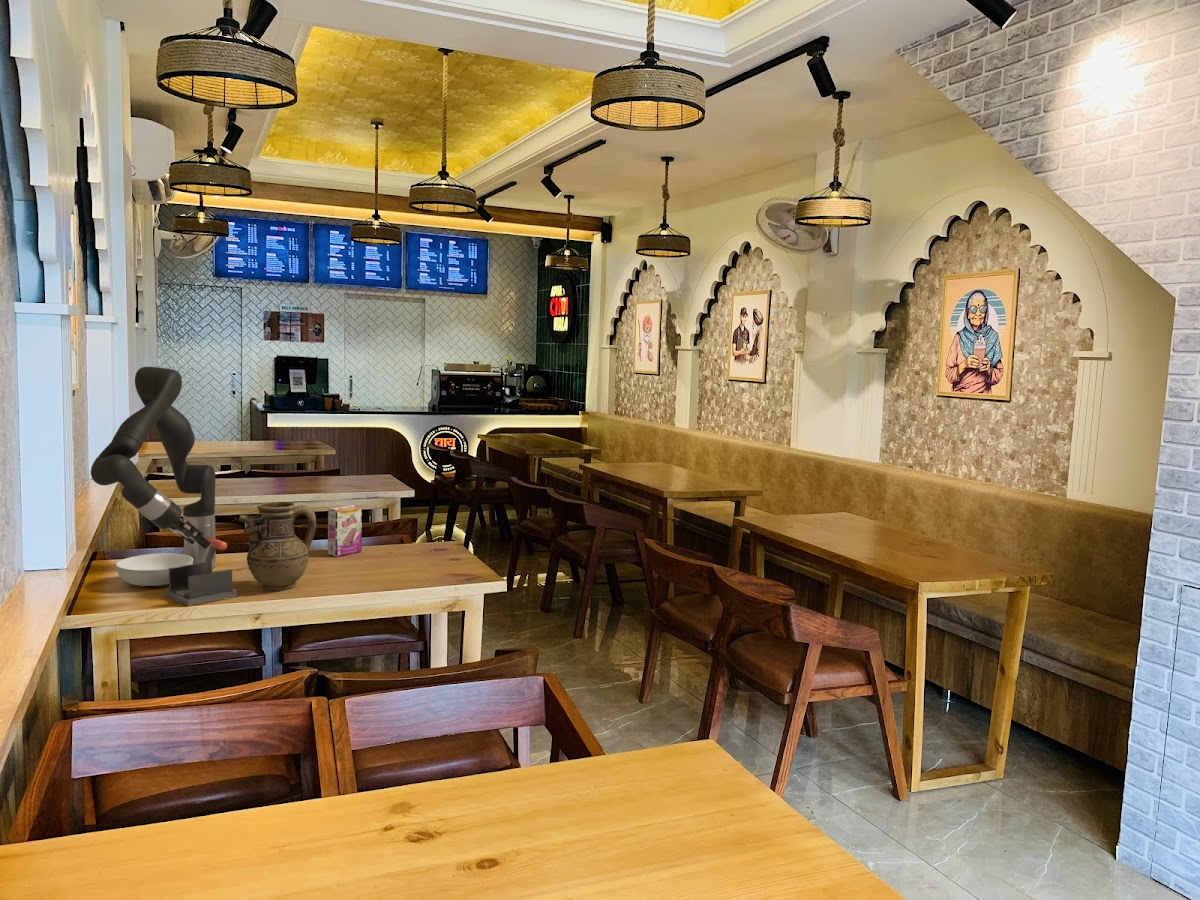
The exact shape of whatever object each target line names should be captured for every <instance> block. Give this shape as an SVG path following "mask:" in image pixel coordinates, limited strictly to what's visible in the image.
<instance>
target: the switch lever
mask: <svg viewBox="0 0 1200 900" xmlns="http://www.w3.org/2000/svg"><path fill="white" fill-rule="evenodd" d="M205 538H206V539H207V540H208V541H209V542H210V543H211V544H210V549H209V551H208V554H207V557H206V559H205V562H204V565H203V568H202V570H201V573H200V574H205V573H208V571H209V568H210V565H211V562H212V560H213V557H214V554H215V552H216V553H217V550H220V551H225V550H226V549H227V548H228V543H227V542H225V541H223V540H220V539H216V538H215V539H214V538H211V537H208V536H207V537H205Z"/></svg>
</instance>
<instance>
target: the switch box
mask: <svg viewBox="0 0 1200 900" xmlns="http://www.w3.org/2000/svg"><path fill="white" fill-rule="evenodd" d="M203 565H204V563H198V564H192V565H186V566H180V567H174V568H169V584H168V585H169V587H168V588H164V597H167V598H169V599H171V600H173V601H175V602H177V603H179V602H180V604H181V603H182V604H181V605H183V604H185V605H184V606H186V605H187V606H186V607H188V606H189V607H192V606H191V605H194V606H196V605H195V604H199V603H204V604H206V603H205V602H209V603H211V602H210V601H214V602H216V601H215V600H219V601H221V600H220V599H225V598H230V599H233V598H232V597H235V598H237V597H238V590H237V589H236V588H234V587H233V569H224V570H218V571H213V568H212V562H211V565H210V568H209V571H208V573H205V574H200V573H201V570H202V568H203ZM236 596H237V597H236ZM225 600H226V599H225ZM199 605H200V604H199Z"/></svg>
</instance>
